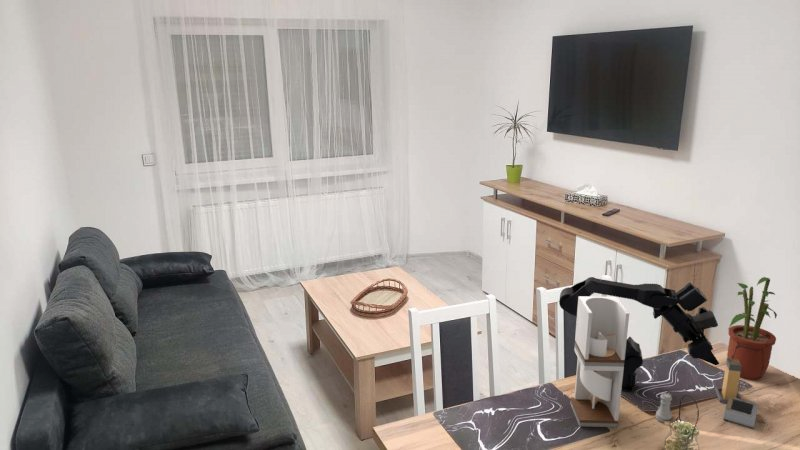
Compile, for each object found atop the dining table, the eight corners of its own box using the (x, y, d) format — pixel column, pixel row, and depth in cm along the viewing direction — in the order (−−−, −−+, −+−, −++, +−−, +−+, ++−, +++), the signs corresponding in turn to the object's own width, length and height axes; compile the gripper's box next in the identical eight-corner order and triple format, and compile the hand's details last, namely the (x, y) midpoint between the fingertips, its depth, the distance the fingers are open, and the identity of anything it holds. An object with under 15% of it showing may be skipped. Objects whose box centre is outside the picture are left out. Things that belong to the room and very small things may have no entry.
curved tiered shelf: (570, 403, 173) (578, 296, 164) (605, 404, 172) (616, 296, 163) (579, 426, 162) (588, 312, 153) (617, 427, 161) (629, 313, 152)
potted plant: (778, 383, 182) (797, 280, 173) (737, 389, 179) (754, 285, 170) (736, 357, 199) (752, 262, 189) (697, 362, 196) (711, 266, 186)
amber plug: (724, 400, 172) (729, 364, 169) (721, 393, 175) (726, 358, 172) (735, 401, 171) (741, 366, 168) (732, 394, 175) (738, 359, 171)
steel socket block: (723, 423, 162) (725, 409, 161) (727, 409, 169) (729, 395, 168) (753, 432, 158) (755, 418, 157) (756, 417, 165) (758, 404, 164)
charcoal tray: (719, 405, 171) (720, 399, 171) (714, 392, 178) (715, 387, 177) (741, 408, 169) (742, 402, 169) (736, 395, 176) (737, 390, 175)
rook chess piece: (671, 416, 166) (674, 391, 164) (672, 425, 162) (676, 400, 160) (654, 413, 167) (657, 389, 165) (655, 422, 163) (658, 397, 161)
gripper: (707, 316, 160) (746, 356, 159) (696, 292, 177) (731, 328, 176) (673, 338, 164) (711, 378, 164) (665, 312, 181) (700, 348, 181)
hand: (714, 357), depth 171 cm, fingers open, 9 cm apart
